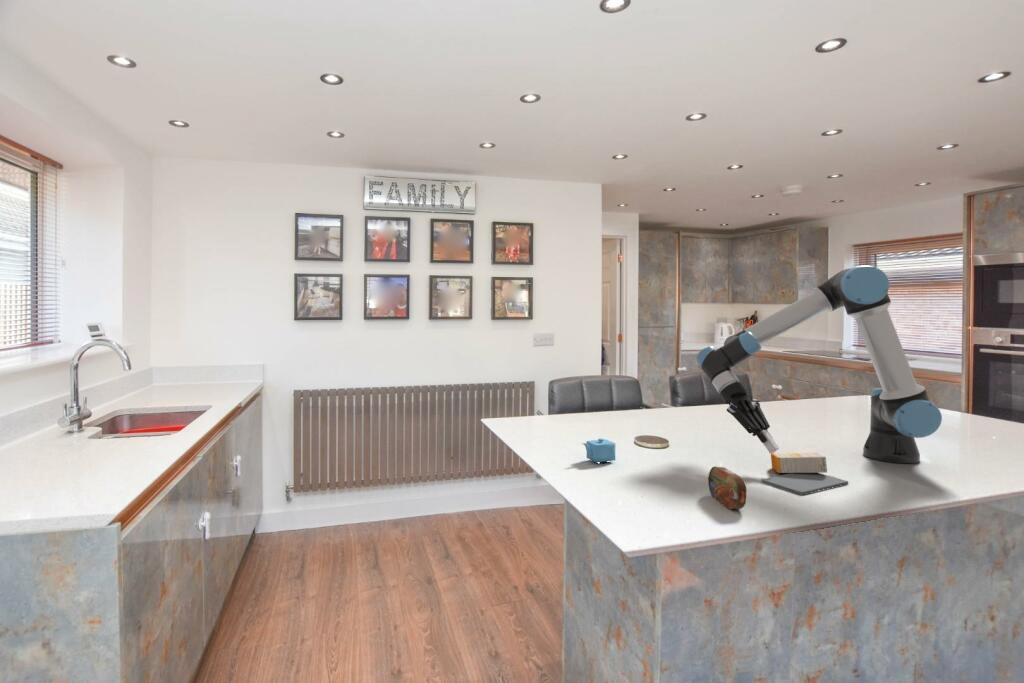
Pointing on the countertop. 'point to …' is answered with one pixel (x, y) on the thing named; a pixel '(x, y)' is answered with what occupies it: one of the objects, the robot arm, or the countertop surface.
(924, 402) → the robot arm
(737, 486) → the multicoloured flat oval slab
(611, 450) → the teapot
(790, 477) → the mat
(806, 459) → the supplement box
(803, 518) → the countertop surface
